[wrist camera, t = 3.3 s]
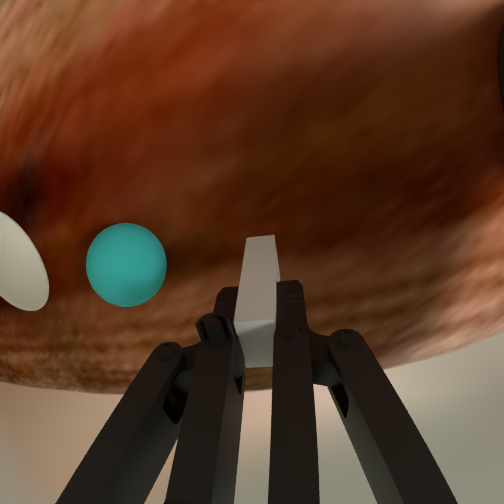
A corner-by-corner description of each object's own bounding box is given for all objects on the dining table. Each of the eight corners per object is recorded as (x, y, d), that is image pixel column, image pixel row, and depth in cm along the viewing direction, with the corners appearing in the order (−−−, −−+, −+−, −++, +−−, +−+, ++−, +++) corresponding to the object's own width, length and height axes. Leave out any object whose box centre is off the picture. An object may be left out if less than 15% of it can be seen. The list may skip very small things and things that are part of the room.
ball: (164, 203, 20) (131, 244, 15) (185, 272, 23) (163, 324, 18) (98, 215, 21) (57, 254, 16) (122, 278, 24) (93, 324, 19)
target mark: (16, 197, 20) (15, 198, 20) (68, 310, 26) (67, 311, 26) (-40, 220, 22) (-41, 221, 22) (4, 309, 28) (3, 310, 28)
